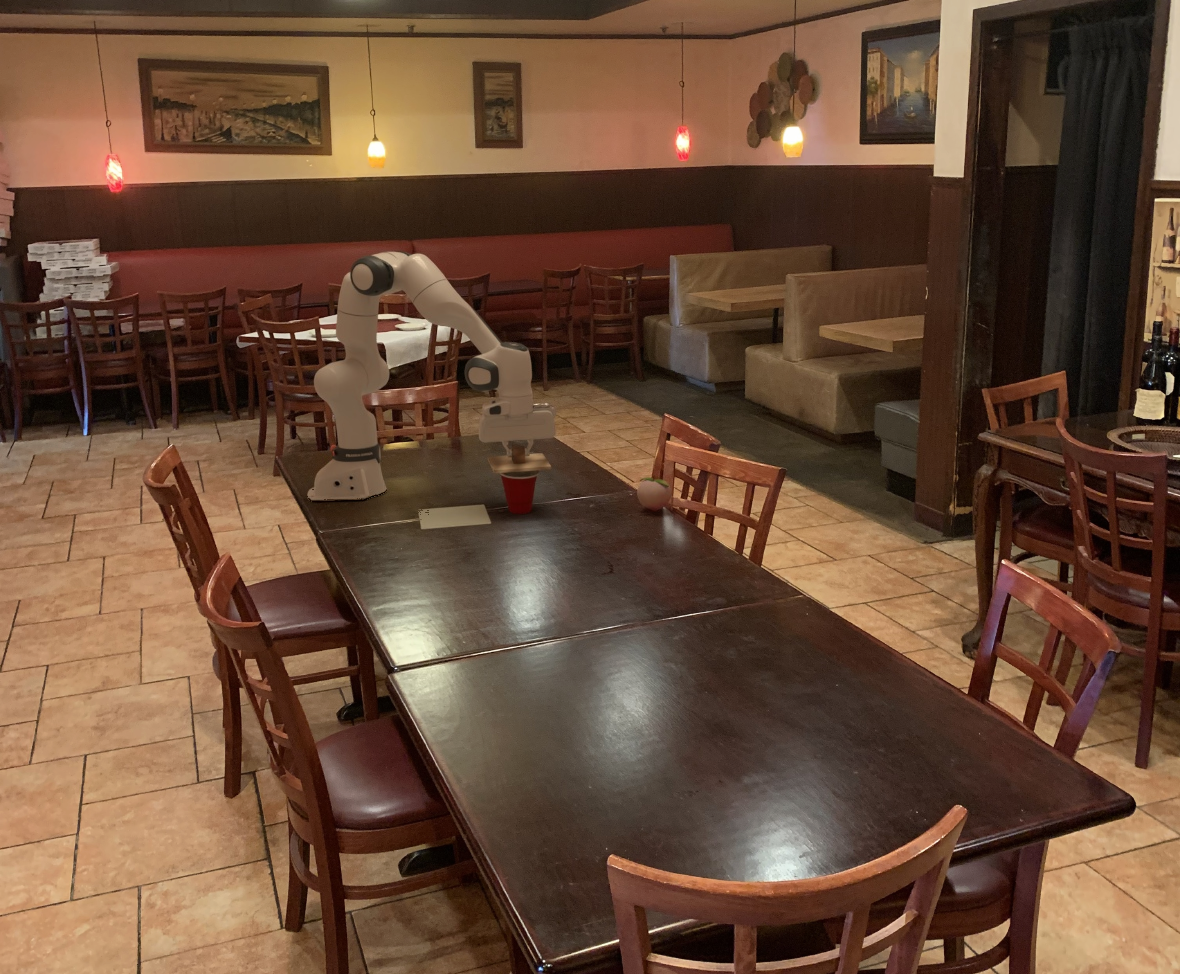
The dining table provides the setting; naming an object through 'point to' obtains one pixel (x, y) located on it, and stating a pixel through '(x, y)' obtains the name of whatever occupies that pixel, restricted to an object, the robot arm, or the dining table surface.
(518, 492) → the plastic cup
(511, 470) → the lid
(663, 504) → the decorative fruit
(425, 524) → the mat
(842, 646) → the dining table surface
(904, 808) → the dining table surface
